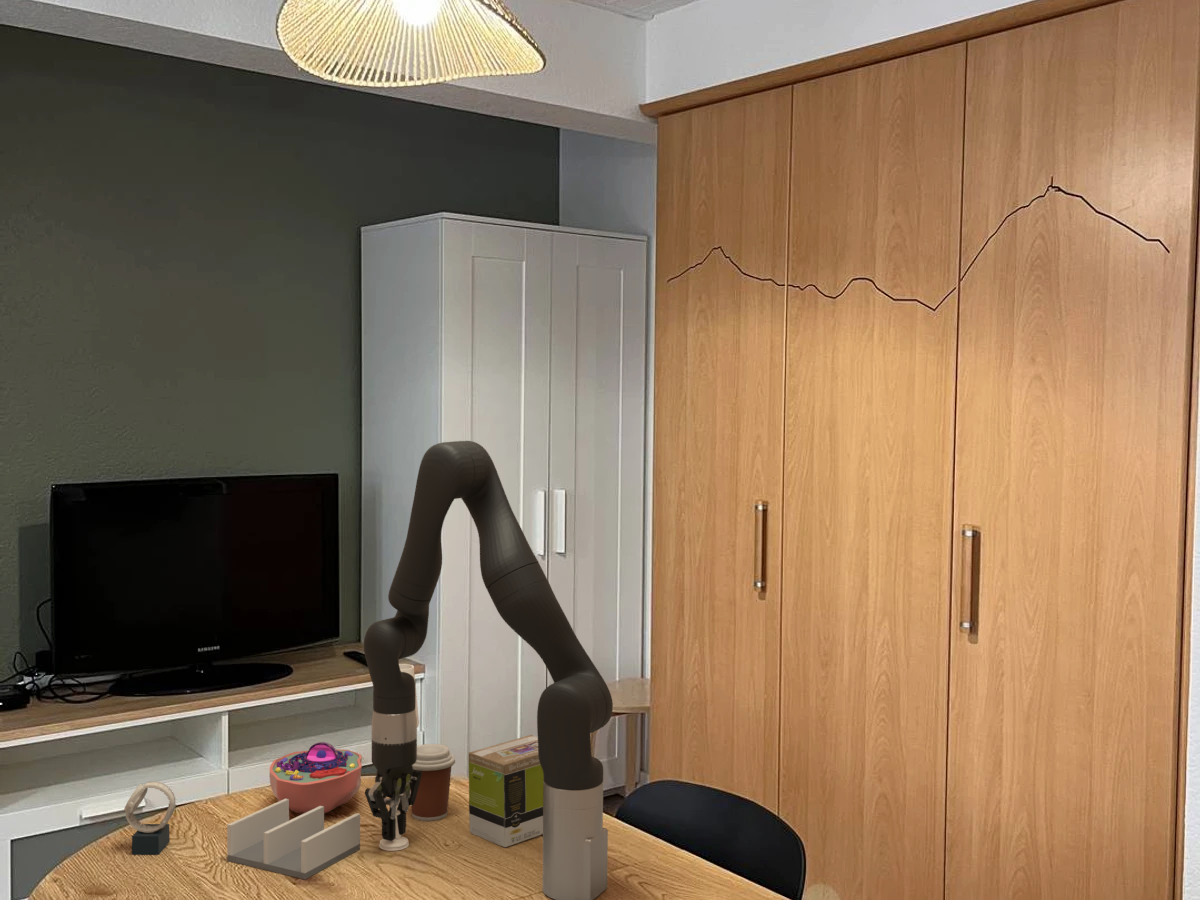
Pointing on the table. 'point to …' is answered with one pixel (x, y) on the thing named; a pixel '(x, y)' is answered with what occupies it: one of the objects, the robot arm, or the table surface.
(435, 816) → the coffee cup
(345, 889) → the table surface
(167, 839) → the watch
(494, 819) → the tea box
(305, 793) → the cell model
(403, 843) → the chess piece
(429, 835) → the table surface
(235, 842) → the slot rack
